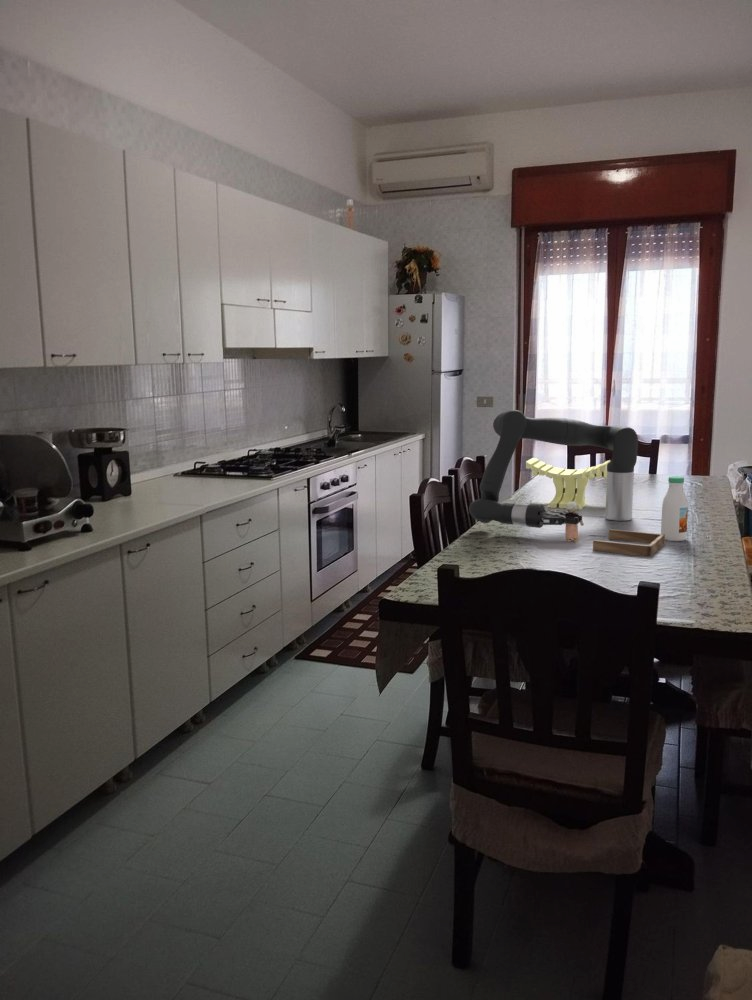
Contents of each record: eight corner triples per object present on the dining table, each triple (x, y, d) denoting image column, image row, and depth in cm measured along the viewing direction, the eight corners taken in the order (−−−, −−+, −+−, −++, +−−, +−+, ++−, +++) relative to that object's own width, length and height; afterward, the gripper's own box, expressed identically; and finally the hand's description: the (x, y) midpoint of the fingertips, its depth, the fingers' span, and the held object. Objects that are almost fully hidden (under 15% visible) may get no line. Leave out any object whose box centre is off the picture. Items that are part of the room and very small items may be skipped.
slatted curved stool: (609, 503, 315) (610, 458, 312) (603, 510, 301) (605, 464, 298) (534, 499, 327) (535, 456, 324) (525, 506, 313) (525, 461, 310)
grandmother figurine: (581, 539, 256) (582, 500, 254) (583, 541, 252) (584, 502, 250) (557, 539, 256) (558, 500, 254) (559, 542, 253) (560, 503, 250)
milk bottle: (670, 542, 249) (673, 479, 245) (655, 537, 256) (658, 476, 253) (691, 540, 251) (694, 478, 247) (676, 535, 258) (679, 474, 255)
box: (609, 538, 256) (610, 529, 256) (664, 543, 247) (664, 534, 247) (592, 550, 241) (593, 540, 241) (650, 556, 232) (650, 546, 232)
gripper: (520, 507, 254) (573, 512, 245) (536, 500, 266) (587, 504, 257) (520, 530, 255) (572, 535, 246) (536, 522, 267) (586, 527, 258)
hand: (579, 519), depth 251 cm, fingers closed on grandmother figurine, 3 cm apart
